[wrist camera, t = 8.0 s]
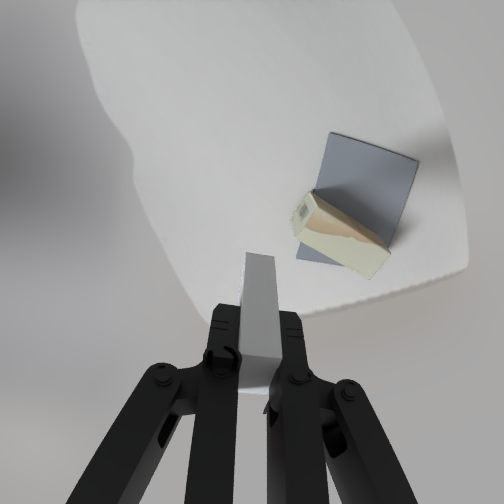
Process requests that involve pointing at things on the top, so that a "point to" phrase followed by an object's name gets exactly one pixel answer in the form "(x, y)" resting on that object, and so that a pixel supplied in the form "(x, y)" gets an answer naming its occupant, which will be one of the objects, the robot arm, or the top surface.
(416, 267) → the top surface
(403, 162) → the mat
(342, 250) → the box
